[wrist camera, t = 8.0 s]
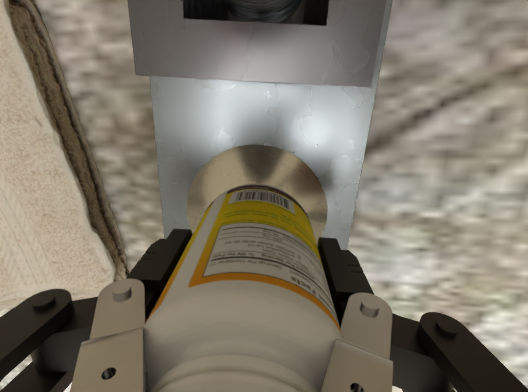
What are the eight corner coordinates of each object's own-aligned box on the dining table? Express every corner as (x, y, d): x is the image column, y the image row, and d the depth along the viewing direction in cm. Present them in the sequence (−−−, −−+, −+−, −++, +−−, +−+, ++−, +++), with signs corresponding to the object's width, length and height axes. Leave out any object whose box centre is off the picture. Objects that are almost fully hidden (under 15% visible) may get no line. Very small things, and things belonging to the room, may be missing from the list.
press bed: (149, -65, 13) (-44, -298, 5) (391, -54, 13) (578, -273, 5) (175, 264, 20) (109, 387, 12) (335, 274, 19) (376, 404, 12)
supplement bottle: (237, 290, 16) (184, 596, 6) (181, 210, 14) (-8, 467, 5) (329, 250, 15) (431, 552, 5) (280, 158, 13) (297, 358, 4)
